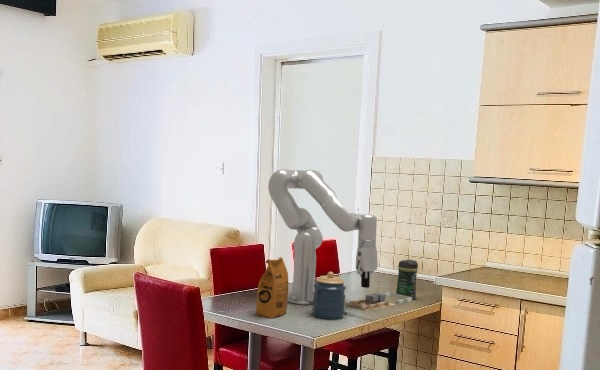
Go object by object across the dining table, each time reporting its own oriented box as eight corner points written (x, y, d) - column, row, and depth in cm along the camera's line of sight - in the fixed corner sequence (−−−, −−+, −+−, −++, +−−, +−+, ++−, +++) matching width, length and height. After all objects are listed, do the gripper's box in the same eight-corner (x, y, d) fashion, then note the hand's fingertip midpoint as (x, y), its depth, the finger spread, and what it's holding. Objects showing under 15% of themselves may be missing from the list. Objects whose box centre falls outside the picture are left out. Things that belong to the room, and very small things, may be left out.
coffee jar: (407, 301, 259) (410, 261, 259) (393, 298, 264) (396, 259, 264) (418, 299, 266) (421, 260, 266) (403, 295, 272) (406, 257, 271)
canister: (324, 309, 232) (327, 267, 232) (350, 316, 224) (353, 272, 223) (305, 314, 222) (308, 270, 222) (331, 321, 214) (334, 275, 213)
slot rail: (366, 314, 228) (366, 307, 228) (343, 308, 237) (343, 301, 237) (412, 304, 255) (412, 297, 255) (390, 298, 263) (390, 292, 263)
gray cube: (372, 306, 238) (373, 296, 238) (365, 304, 241) (365, 294, 241) (378, 304, 241) (378, 295, 241) (370, 302, 244) (371, 293, 244)
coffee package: (251, 314, 216) (255, 258, 216) (269, 309, 227) (273, 255, 227) (272, 319, 211) (276, 261, 211) (290, 313, 222) (294, 258, 221)
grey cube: (379, 304, 242) (380, 295, 242) (371, 302, 245) (372, 293, 245) (384, 303, 245) (385, 294, 245) (377, 301, 248) (377, 292, 248)
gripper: (363, 245, 228) (361, 290, 228) (384, 243, 239) (382, 286, 239) (348, 243, 233) (347, 287, 233) (369, 242, 244) (368, 283, 244)
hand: (365, 287), depth 236 cm, fingers closed
